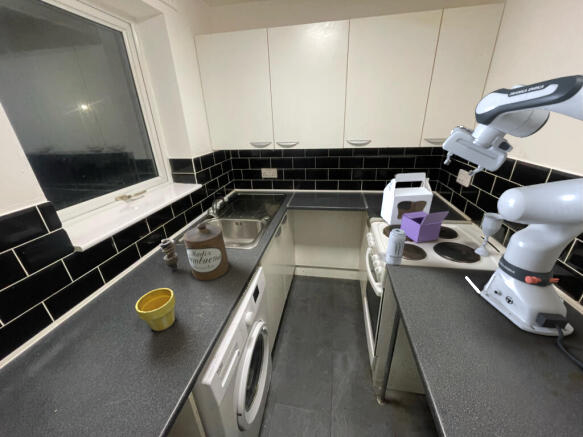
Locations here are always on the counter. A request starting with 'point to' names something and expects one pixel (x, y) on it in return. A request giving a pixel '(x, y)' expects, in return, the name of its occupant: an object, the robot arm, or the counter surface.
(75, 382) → the counter surface
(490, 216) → the chalice
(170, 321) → the flower pot
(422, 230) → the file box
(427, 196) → the gable box
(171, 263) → the grey tall piece
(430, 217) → the flap
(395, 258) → the energy drink can
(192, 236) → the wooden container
